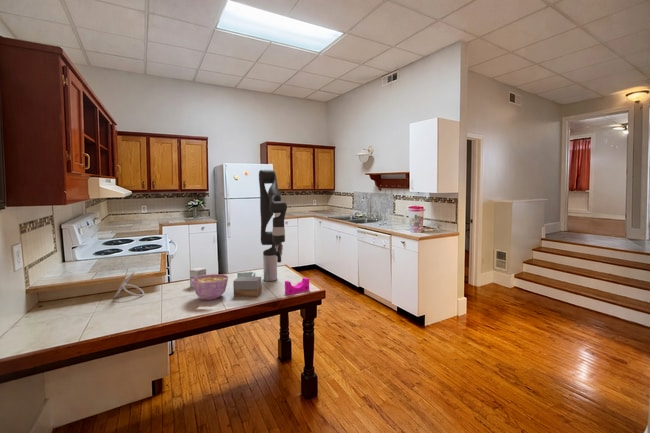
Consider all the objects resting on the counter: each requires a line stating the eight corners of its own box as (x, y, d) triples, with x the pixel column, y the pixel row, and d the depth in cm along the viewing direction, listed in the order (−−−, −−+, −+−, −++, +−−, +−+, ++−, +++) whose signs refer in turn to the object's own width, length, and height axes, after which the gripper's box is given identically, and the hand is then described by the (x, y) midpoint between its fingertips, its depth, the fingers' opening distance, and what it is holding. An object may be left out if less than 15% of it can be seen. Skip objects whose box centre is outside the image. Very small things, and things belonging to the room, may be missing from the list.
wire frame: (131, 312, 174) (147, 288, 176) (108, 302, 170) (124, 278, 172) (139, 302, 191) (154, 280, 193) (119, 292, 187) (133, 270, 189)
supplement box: (189, 288, 197) (189, 269, 197) (199, 286, 204) (198, 267, 203) (197, 290, 194) (196, 270, 193) (206, 287, 200) (206, 268, 200)
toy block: (304, 288, 196) (304, 276, 196) (309, 290, 191) (309, 278, 191) (283, 292, 188) (283, 280, 188) (287, 294, 183) (287, 282, 183)
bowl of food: (205, 291, 190) (205, 273, 189) (235, 293, 186) (234, 274, 185) (184, 302, 170) (183, 281, 170) (217, 304, 166) (216, 283, 166)
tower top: (238, 284, 188) (238, 276, 188) (261, 284, 188) (261, 276, 187) (233, 289, 178) (233, 281, 178) (257, 289, 178) (257, 280, 178)
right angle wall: (237, 283, 210) (237, 272, 210) (255, 282, 211) (255, 271, 211) (234, 288, 198) (233, 276, 198) (253, 287, 199) (252, 276, 199)
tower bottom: (239, 292, 188) (239, 284, 188) (261, 293, 188) (261, 284, 187) (233, 298, 178) (233, 289, 178) (257, 298, 178) (257, 289, 177)
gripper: (274, 233, 193) (275, 260, 194) (270, 235, 180) (270, 264, 181) (286, 232, 193) (287, 260, 194) (282, 235, 179) (283, 264, 180)
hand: (279, 262), depth 187 cm, fingers closed
